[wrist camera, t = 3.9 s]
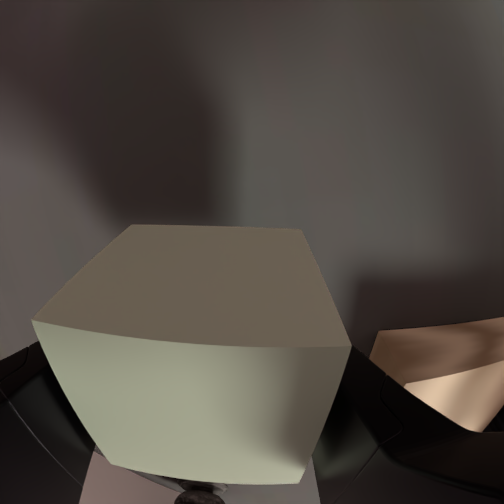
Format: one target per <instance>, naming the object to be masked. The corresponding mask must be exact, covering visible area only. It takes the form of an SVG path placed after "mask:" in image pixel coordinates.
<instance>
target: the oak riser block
mask: <svg viewBox="0 0 504 504" xmlns="http://www.w3.org/2000/svg"><path fill="white" fill-rule="evenodd" d="M369 359H370V360H371V361H372V362H373V363H375V364H376V365H377V366H378V367H379V368H381V369H382V370H383V371H384V372H385V373H386V375H389V376H390V377H392V378H393V379H394V380H395V381H396V382H398V383H399V384H400V385H401V386H403V387H404V388H405V389H407V390H408V391H409V392H410V393H412V394H413V395H415V396H416V397H417V398H419V399H420V400H422V401H423V402H425V403H426V404H428V405H429V406H431V407H432V408H434V409H435V410H437V411H438V412H440V413H441V414H443V415H444V416H446V417H447V418H449V419H451V420H452V421H454V422H455V423H457V424H458V425H460V426H462V427H464V428H466V429H468V430H471V431H475V432H482V431H483V430H484V429H485V428H486V426H487V425H488V424H489V423H490V422H491V420H492V419H493V418H494V417H495V415H496V414H497V413H498V412H499V410H500V409H501V408H502V406H503V405H504V317H500V318H494V319H488V320H481V321H474V322H467V323H459V324H451V325H442V326H432V327H422V328H410V329H397V330H383V331H378V334H377V337H376V340H375V343H374V346H373V349H372V351H371V354H370V357H369Z"/></svg>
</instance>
